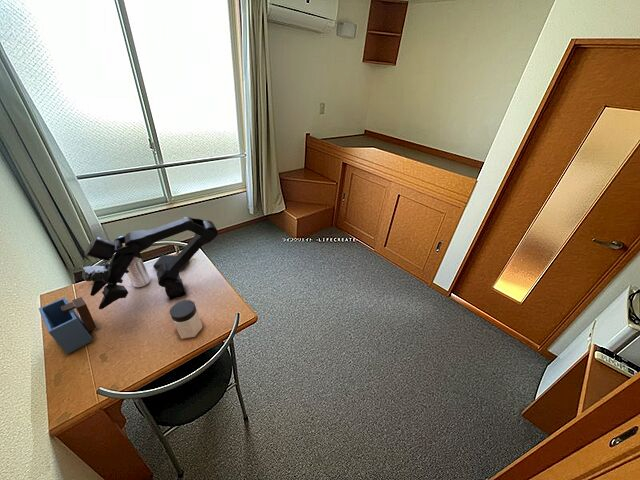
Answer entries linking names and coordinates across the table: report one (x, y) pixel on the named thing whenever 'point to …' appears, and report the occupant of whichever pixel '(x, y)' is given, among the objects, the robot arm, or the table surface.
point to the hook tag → (81, 312)
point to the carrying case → (165, 260)
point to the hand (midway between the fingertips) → (95, 302)
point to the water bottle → (137, 272)
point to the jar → (186, 318)
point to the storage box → (65, 326)
